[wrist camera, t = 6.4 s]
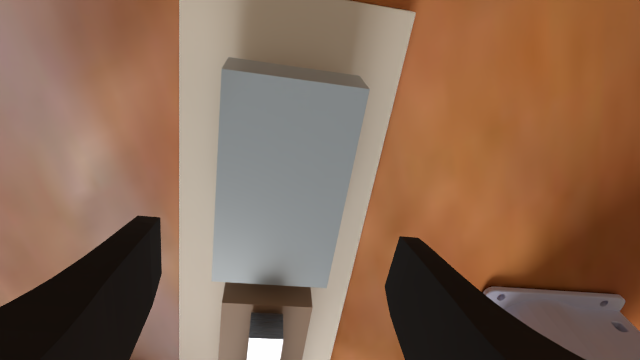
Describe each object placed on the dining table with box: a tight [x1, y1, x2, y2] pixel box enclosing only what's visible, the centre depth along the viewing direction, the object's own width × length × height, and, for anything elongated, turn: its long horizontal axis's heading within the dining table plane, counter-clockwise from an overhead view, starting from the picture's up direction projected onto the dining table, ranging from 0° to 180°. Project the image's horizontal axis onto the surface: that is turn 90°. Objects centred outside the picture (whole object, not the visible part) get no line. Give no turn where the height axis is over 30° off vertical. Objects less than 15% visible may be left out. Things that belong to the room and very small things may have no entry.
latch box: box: [179, 0, 416, 360], centre depth 19 cm, size 9×24×4 cm, turn 171°
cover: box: [212, 57, 370, 288], centre depth 16 cm, size 5×9×2 cm, turn 171°
